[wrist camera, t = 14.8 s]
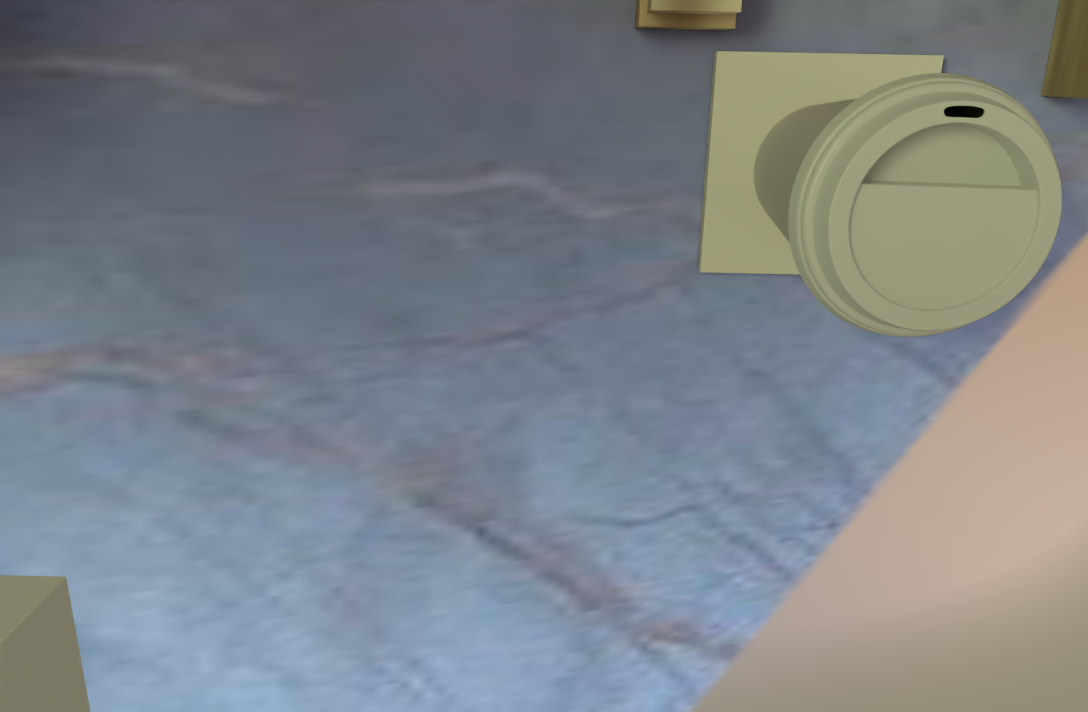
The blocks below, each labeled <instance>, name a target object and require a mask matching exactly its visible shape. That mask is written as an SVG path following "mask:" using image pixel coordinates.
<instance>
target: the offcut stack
mask: <svg viewBox="0 0 1088 712" xmlns="http://www.w3.org/2000/svg"><path fill="white" fill-rule="evenodd" d="M741 6H742V0H636V15H635V28H643V29H695V30H729V29H734V28H735V24H736V13H739V12H741Z"/></svg>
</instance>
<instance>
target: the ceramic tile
mask: <svg viewBox="0 0 1088 712" xmlns="http://www.w3.org/2000/svg"><path fill="white" fill-rule="evenodd" d="M943 58H944V56H937V55H886V54H836V53H785V52H734V51H715V52H714V65H713V78H712V91H711V104H710V117H709V130H708V143H707V155H706V168H705V181H704V194H703V207H702V220H701V233H700V246H699V259H698V270H699V271H700V272H709V273H756V274H800V273H799V271H798V269H797V267H796V264H795V261H794V258H793V255H792V251H791V246H790V243H789V242H788V240H787V239H786V238H785V236H784V235H783V234H782V233H781V231H780V230H779V229H778V227H777V226H776V225H775V224H774V222H773V221H772V220H771V218H770V217H769V216H768V215H767V213H766V212H765V211H764V209H763V208H762V206H761V204H760V202H759V200H758V197H757V194H756V191H755V186H754V165H755V160H756V156H757V153H758V150H759V148H760V146H761V144H762V142H763V140H764V139H765V137H766V136H767V134H768V133H769V132H770V130H771V129H772V128H773V127H774V126H775V125H776V124H777V123H778V122H779V121H780V120H782V119H783V118H784V117H786V116H787V115H789V114H791V113H792V112H794V111H796V110H799V109H801V108H804V107H807V106H812V105H817V104H824V103H830V102H837V101H843V100H850V99H856V98H859V97H861V96H862V95H864V94H866V93H867V92H869V91H871V90H873V89H875V88H877V87H879V86H881V85H884V84H886V83H889V82H891V81H894V80H897V79H901V78H904V77H909V76H913V75H919V74H928V73H941V71H942V64H943Z"/></svg>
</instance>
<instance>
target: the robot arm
mask: <svg viewBox="0 0 1088 712" xmlns="http://www.w3.org/2000/svg"><path fill="white" fill-rule="evenodd" d="M0 712H90V707H89V701H88V696H87V690H86V685H85V679H84V674H83V668H82V663H81V657H80V652H79V646H78V641H77V635H76V630H75V624H74V619H73V613H72V608H71V602H70V597H69V591H68V586H67V580H66V577H52V576H10V575H2V576H0Z"/></svg>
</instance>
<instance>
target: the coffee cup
mask: <svg viewBox="0 0 1088 712" xmlns="http://www.w3.org/2000/svg"><path fill="white" fill-rule="evenodd" d="M754 186H755V191H756V194H757V197H758V200H759V202H760V204H761V206H762V208H763V209H764V211H765V212H766V213H767V215H768V216H769V217H770V218H771V220H772V221H773V222H774V224H775V225H776V226H777V227H778V229H779V230H780V231H781V233H782V234H783V235H784V236H785V238H786V239H787V240H788V242H789V243H790V246H791V251H792V255H793V258H794V261H795V264H796V267H797V269H798V271H799V273H800V275H801V277H802V279H803V281H804V283H805V284H806V286H807V287H808V289H809V290H810V292H811V293H812V294H813V295H814V297H815V298H816V299H817V300H818V301H819V302H820V303H821V304H822V305H823V306H824V307H825V308H826V309H827V310H829V311H830V312H831V313H833V314H834V315H835V316H837V317H838V318H840V319H842V320H843V321H845V322H847V323H849V324H851V325H853V326H855V327H858V328H860V329H863V330H866V331H870V332H873V333H878V334H883V335H892V336H902V337H916V336H927V335H933V334H938V333H943V332H947V331H951V330H954V329H957V328H960V327H963V326H965V325H968V324H970V323H972V322H974V321H977V320H979V319H981V318H983V317H986V316H988V315H989V314H991V313H993V312H995V311H996V310H998V309H999V308H1001V307H1002V306H1004V305H1005V304H1007V303H1008V302H1009V301H1011V300H1012V299H1013V298H1014V297H1015V296H1017V295H1018V294H1019V293H1020V292H1021V291H1022V290H1023V289H1024V288H1025V287H1026V286H1027V285H1028V283H1029V282H1030V281H1031V280H1032V279H1033V277H1034V276H1035V275H1036V274H1037V272H1038V271H1039V269H1040V268H1041V266H1042V265H1043V263H1044V261H1045V260H1046V258H1047V256H1048V254H1049V252H1050V250H1051V248H1052V245H1053V243H1054V240H1055V237H1056V234H1057V231H1058V227H1059V223H1060V217H1061V210H1062V188H1061V181H1060V176H1059V172H1058V167H1057V163H1056V159H1055V156H1054V153H1053V150H1052V148H1051V145H1050V143H1049V141H1048V139H1047V137H1046V135H1045V133H1044V132H1043V130H1042V128H1041V127H1040V125H1039V124H1038V122H1037V121H1036V120H1035V118H1034V117H1033V116H1032V115H1031V114H1030V113H1029V112H1028V110H1027V109H1025V108H1024V107H1023V106H1022V105H1021V104H1020V103H1019V102H1018V101H1016V100H1015V99H1014V98H1012V97H1011V96H1010V95H1008V94H1007V93H1006V92H1004V91H1002V90H1001V89H999V88H997V87H996V86H994V85H991V84H989V83H987V82H985V81H982V80H979V79H976V78H973V77H969V76H964V75H959V74H951V73H928V74H919V75H913V76H909V77H904V78H901V79H897V80H894V81H891V82H889V83H886V84H884V85H881V86H879V87H877V88H875V89H873V90H871V91H869V92H867V93H866V94H864V95H862V96H861V97H859V98H856V99H850V100H843V101H837V102H830V103H824V104H817V105H812V106H807V107H804V108H801V109H799V110H796V111H794V112H792V113H791V114H789V115H787V116H786V117H784V118H783V119H782V120H780V121H779V122H778V123H777V124H776V125H775V126H774V127H773V128H772V129H771V130H770V132H769V133H768V134H767V136H766V137H765V139H764V140H763V142H762V144H761V146H760V148H759V150H758V153H757V156H756V160H755V165H754Z"/></svg>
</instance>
